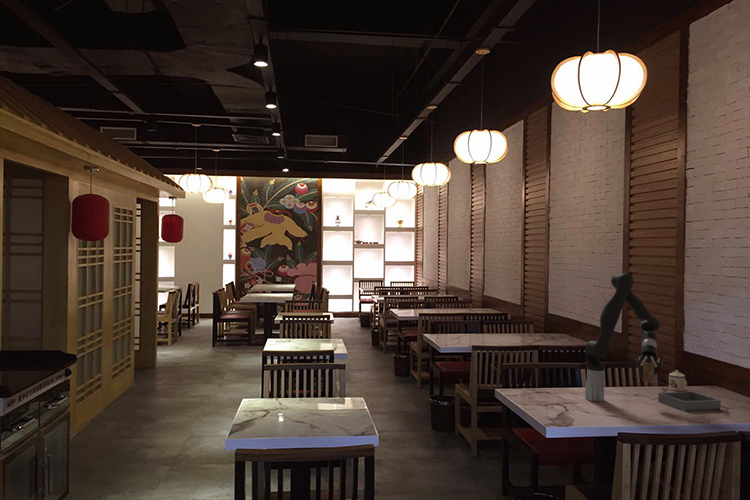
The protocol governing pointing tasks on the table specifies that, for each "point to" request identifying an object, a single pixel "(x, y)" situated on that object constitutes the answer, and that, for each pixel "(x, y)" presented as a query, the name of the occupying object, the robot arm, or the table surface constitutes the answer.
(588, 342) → the robot arm
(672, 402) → the grey tray
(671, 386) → the teacup with lid
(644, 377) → the walnut crate
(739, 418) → the table surface
